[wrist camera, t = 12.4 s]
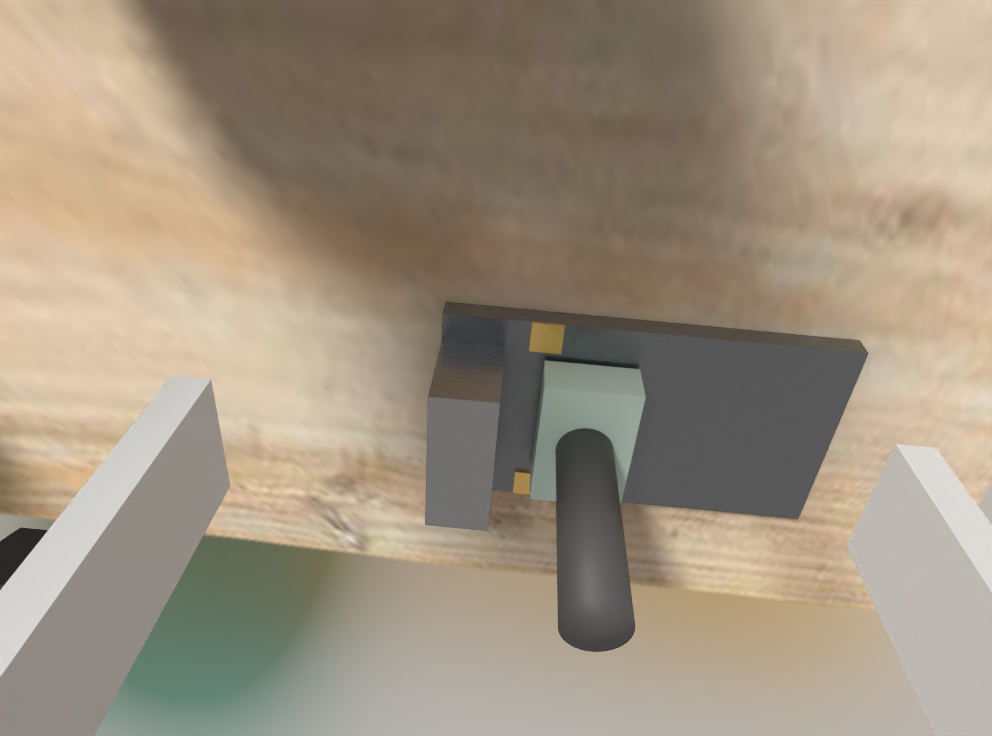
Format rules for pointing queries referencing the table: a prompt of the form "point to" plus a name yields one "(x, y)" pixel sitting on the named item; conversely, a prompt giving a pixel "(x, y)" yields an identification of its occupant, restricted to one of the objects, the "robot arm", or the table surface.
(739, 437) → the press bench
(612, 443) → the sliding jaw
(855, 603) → the table surface
